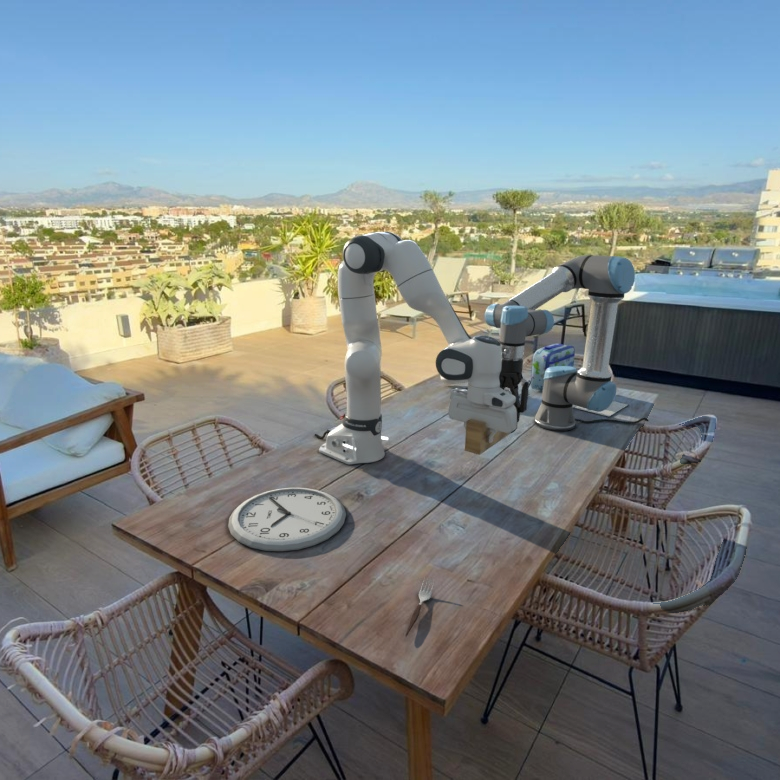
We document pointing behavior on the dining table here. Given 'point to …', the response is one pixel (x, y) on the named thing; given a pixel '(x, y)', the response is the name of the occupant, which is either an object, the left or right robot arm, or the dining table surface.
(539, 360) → the lunch box
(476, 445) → the bar
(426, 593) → the fork
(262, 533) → the wall clock
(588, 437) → the dining table surface
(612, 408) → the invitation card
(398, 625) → the dining table surface
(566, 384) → the right robot arm
